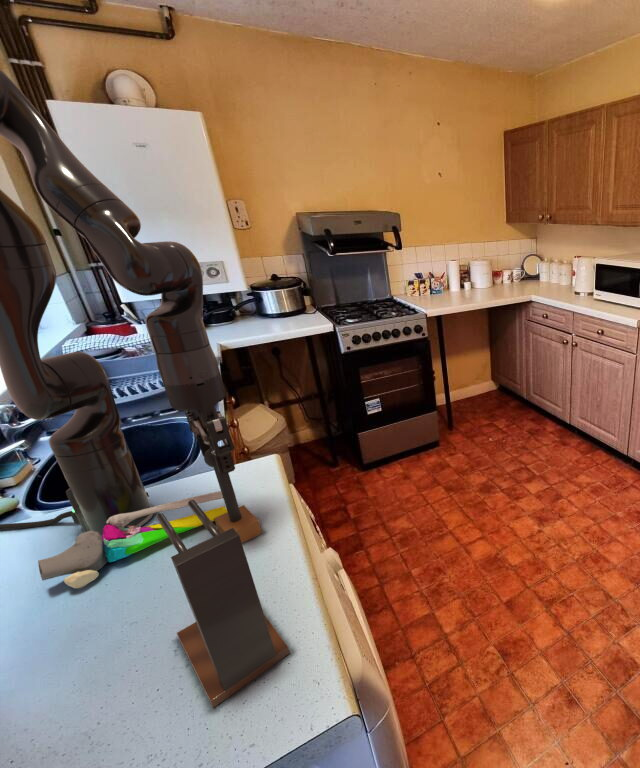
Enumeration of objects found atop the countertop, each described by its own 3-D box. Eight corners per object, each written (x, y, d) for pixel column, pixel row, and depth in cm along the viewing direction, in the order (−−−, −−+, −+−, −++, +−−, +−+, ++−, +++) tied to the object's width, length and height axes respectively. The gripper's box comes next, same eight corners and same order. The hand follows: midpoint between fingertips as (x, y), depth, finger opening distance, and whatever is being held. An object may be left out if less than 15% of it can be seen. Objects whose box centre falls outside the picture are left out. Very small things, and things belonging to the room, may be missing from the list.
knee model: (232, 541, 85) (48, 609, 67) (218, 510, 89) (40, 567, 70) (235, 511, 81) (37, 576, 62) (220, 480, 84) (29, 533, 66)
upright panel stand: (178, 637, 60) (127, 516, 53) (248, 596, 67) (211, 482, 59) (213, 708, 51) (158, 574, 44) (290, 653, 58) (253, 528, 50)
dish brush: (218, 531, 81) (190, 446, 74) (247, 517, 84) (223, 435, 78) (232, 548, 76) (203, 460, 70) (262, 533, 80) (237, 448, 73)
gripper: (151, 372, 71) (181, 459, 77) (175, 392, 62) (207, 489, 68) (204, 360, 76) (228, 442, 82) (234, 377, 67) (259, 468, 73)
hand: (219, 463), depth 75 cm, fingers open, 8 cm apart
